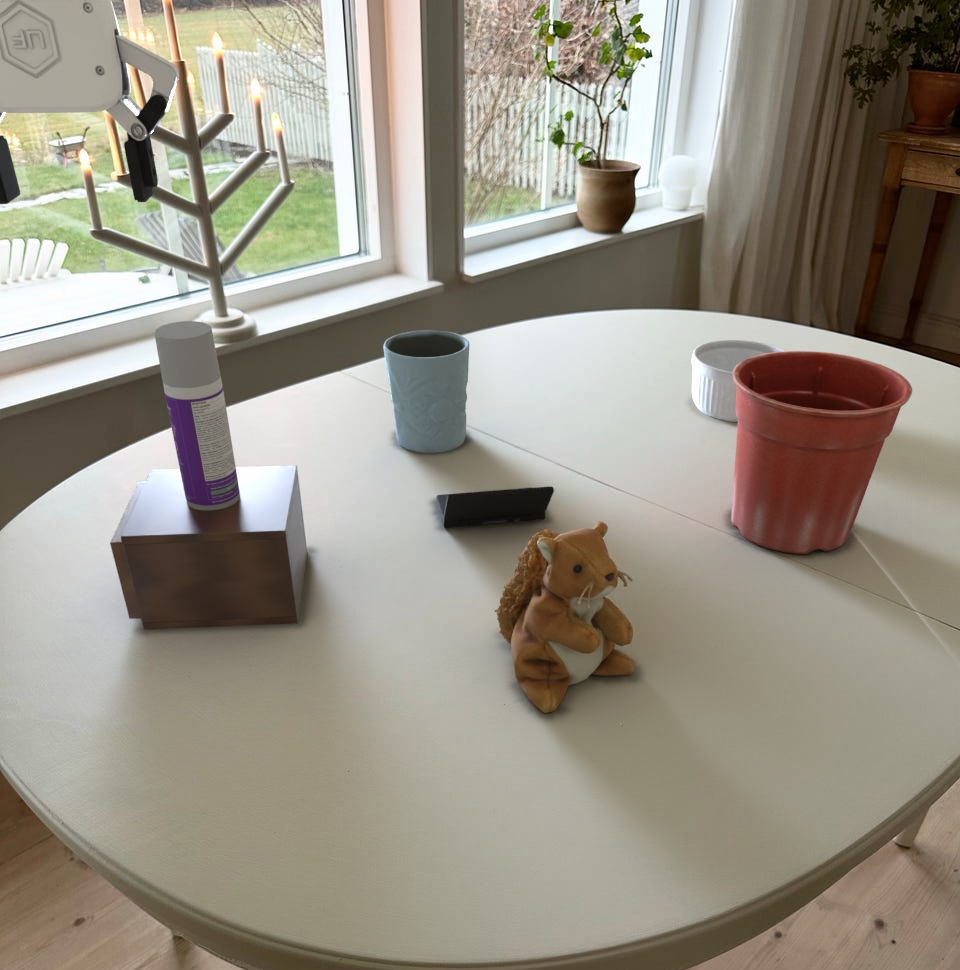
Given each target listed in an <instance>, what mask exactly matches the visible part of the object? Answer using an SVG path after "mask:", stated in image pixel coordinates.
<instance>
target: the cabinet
mask: <svg viewBox="0 0 960 970" xmlns="http://www.w3.org/2000/svg"><path fill="white" fill-rule="evenodd" d="M236 472H237V479H238V485H239V491H240V498H239V500H238V501H237V502H236V503H235V504H233V505H231V506H229V507H227V508H224V509H219V510H212V511H203V510H197V509H194V508H192V507H190V506H189V505H188V504H187V501H186V497H185V492H184V487H183V482H182V477H181V472H180V468H170V469H169V468H168V469H166V468H165V469H150V471H149V473H148V475H147V477H146V479H145V481H144V482H145V484H144V486H143V488H142V491H141V493H140V495H139V497H138V499H137V502H136V504H135V506H134V508H133V510H132V513H131V515H130V517H129V519H128V521H127V524H126V526H125V528H124V530H123V532H122V535H121V540H122V544H123V548H124V552H125V556H126V560H127V564H128V568H129V572H130V576H131V580H132V584H133V588H134V592H135V596H136V600H137V604H138V608H139V612H140V616H141V618H140V620H141V624H142V628H143V630H144V631H151V630H173V629H174V630H175V629H197V628H198V629H199V628H223V627H224V628H225V627H247V626H268V625H270V626H272V625H291V624H292V625H293V624H294V625H295V624H296V625H297V624H299V618H300V610H301V604H302V603H301V602H302V595H303V589H304V588H303V586H304V581H305V580H304V579H305V572H306V565H307V557H308V547H307V537H306V531H305V521H304V511H303V503H302V495H301V487H300V480H299V478H300V477H299V473H298V472H299V471H298V465H297V464H295V465H294V464H293V465H266V466H265V465H264V466H263V465H261V466H236Z"/></svg>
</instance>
